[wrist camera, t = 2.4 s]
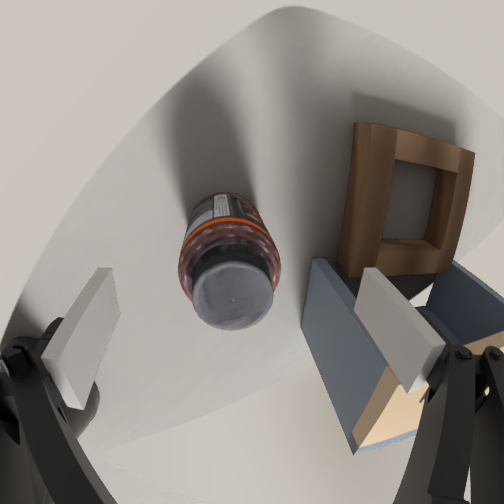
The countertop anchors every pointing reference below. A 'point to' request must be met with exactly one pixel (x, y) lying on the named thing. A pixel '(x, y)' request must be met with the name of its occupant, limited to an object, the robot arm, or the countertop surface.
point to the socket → (377, 197)
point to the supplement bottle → (228, 263)
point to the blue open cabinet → (372, 360)
